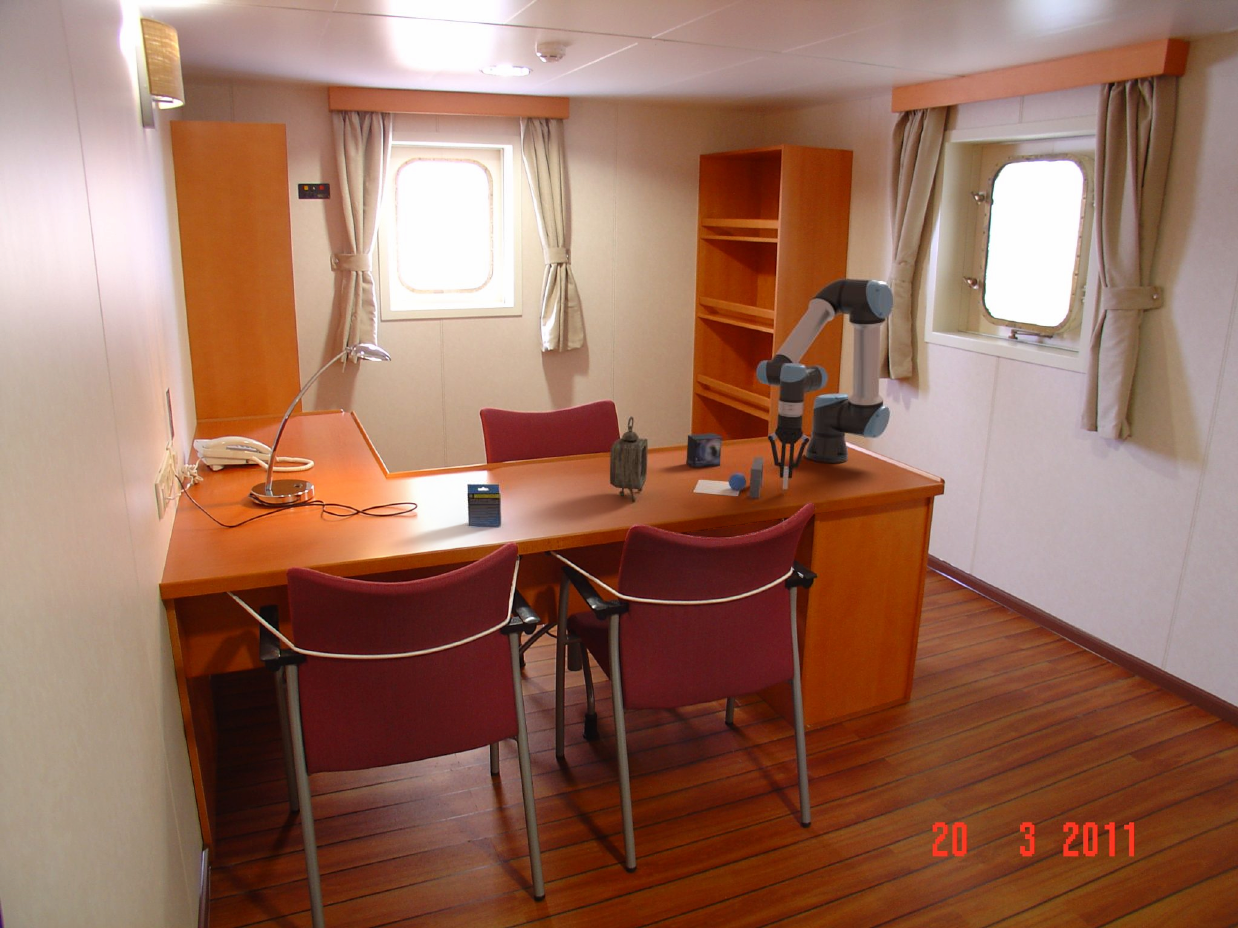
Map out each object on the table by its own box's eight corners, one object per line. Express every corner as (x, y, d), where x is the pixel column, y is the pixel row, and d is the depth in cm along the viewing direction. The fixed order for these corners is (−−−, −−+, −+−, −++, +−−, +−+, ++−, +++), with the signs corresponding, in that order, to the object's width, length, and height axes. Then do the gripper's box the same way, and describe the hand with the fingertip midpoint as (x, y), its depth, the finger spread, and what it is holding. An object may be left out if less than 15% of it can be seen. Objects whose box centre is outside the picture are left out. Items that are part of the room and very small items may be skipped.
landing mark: (699, 480, 293) (699, 479, 293) (741, 483, 290) (741, 482, 290) (693, 492, 280) (693, 491, 280) (737, 496, 277) (738, 495, 277)
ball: (730, 487, 286) (729, 471, 285) (747, 486, 285) (746, 470, 283) (728, 493, 281) (726, 476, 280) (745, 492, 280) (744, 475, 278)
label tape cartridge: (501, 522, 250) (501, 480, 247) (500, 527, 246) (499, 484, 243) (469, 522, 250) (468, 480, 246) (468, 526, 246) (466, 484, 243)
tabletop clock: (638, 504, 267) (640, 423, 261) (608, 502, 269) (609, 421, 262) (646, 490, 281) (648, 412, 274) (618, 488, 283) (619, 411, 276)
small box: (693, 468, 306) (695, 439, 303) (685, 463, 312) (686, 434, 309) (721, 466, 310) (722, 436, 307) (712, 461, 316) (713, 432, 313)
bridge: (749, 497, 276) (750, 468, 273) (752, 484, 290) (754, 456, 287) (759, 498, 275) (760, 469, 273) (762, 484, 289) (763, 457, 286)
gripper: (768, 415, 272) (763, 489, 278) (811, 418, 269) (805, 492, 275) (769, 410, 279) (764, 482, 285) (812, 413, 276) (806, 486, 282)
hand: (785, 487), depth 280 cm, fingers closed
